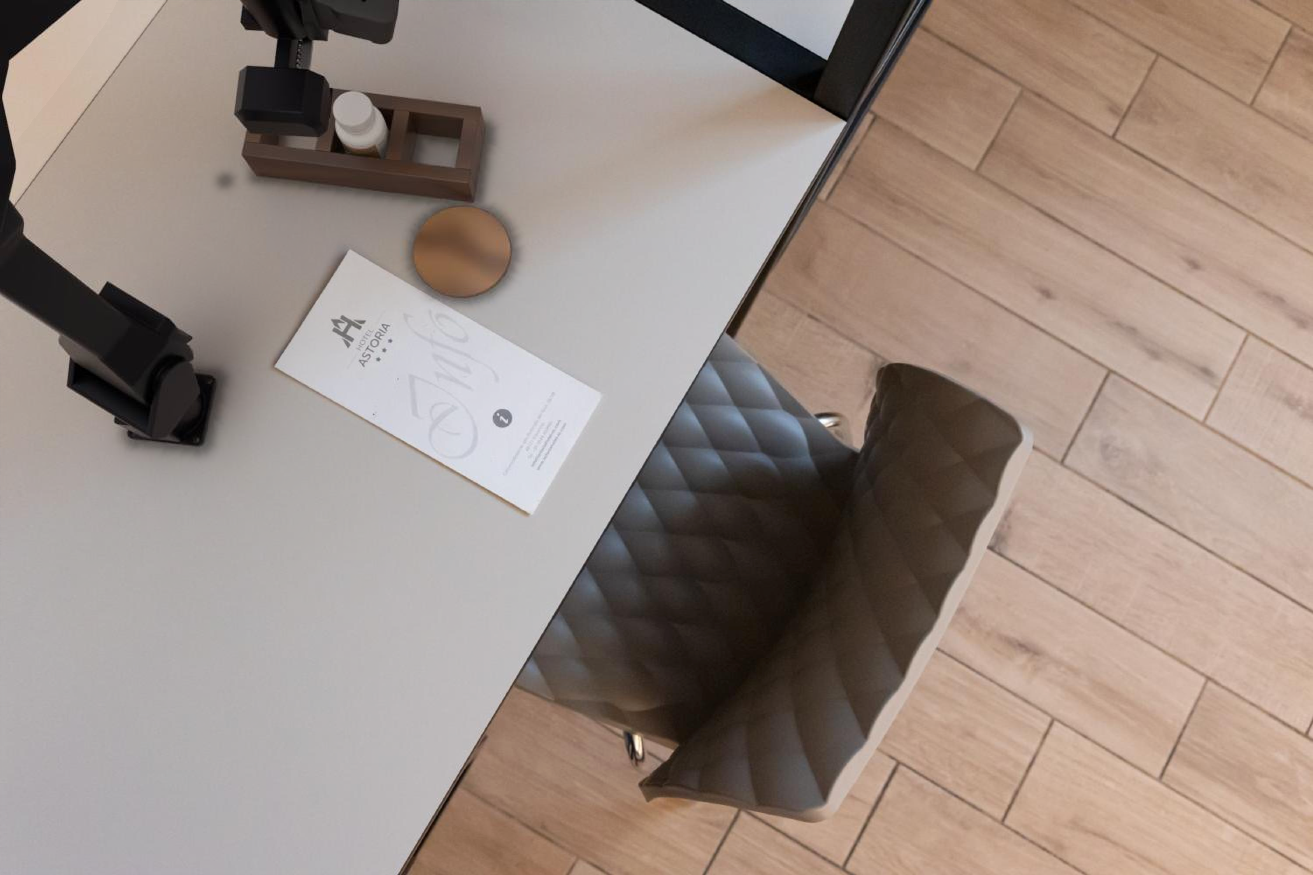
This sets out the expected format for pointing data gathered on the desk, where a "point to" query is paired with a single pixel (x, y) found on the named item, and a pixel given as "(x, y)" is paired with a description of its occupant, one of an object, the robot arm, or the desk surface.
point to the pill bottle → (360, 126)
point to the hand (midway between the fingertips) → (329, 70)
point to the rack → (397, 167)
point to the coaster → (462, 251)
